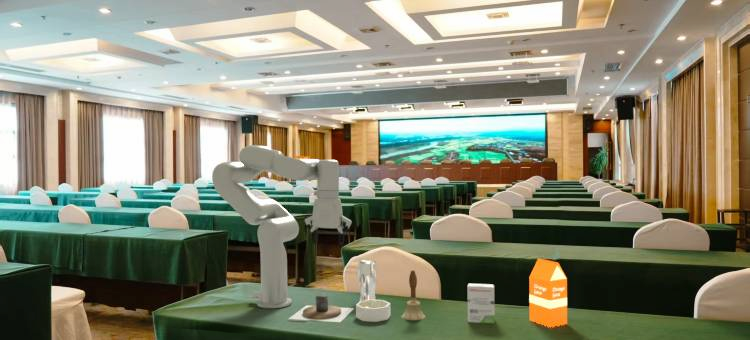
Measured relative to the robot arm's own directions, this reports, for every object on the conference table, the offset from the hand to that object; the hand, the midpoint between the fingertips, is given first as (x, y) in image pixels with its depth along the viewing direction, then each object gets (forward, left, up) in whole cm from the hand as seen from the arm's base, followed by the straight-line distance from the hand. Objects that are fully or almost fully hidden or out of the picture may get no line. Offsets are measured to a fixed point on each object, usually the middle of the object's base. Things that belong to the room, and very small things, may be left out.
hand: (327, 243), depth 180 cm
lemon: (+16, -5, -22) cm, 28 cm away
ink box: (+52, 0, -24) cm, 58 cm away
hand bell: (+30, -2, -24) cm, 39 cm away
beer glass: (+10, +14, -24) cm, 30 cm away
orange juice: (+73, +3, -24) cm, 77 cm away
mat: (-1, -5, -24) cm, 24 cm away
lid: (-1, -5, -23) cm, 24 cm away
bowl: (+17, -5, -24) cm, 30 cm away
